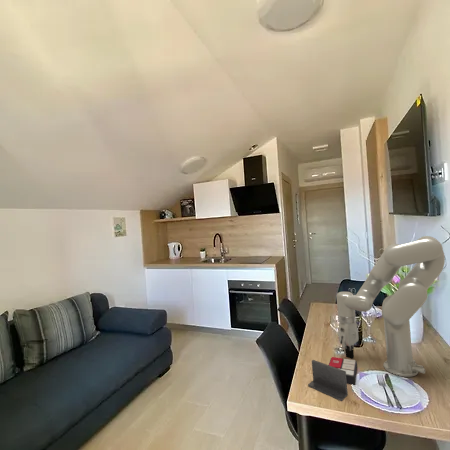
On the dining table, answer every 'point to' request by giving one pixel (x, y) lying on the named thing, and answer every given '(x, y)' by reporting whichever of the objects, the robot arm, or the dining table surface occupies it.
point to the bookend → (329, 380)
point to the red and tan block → (346, 368)
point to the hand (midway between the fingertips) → (349, 357)
